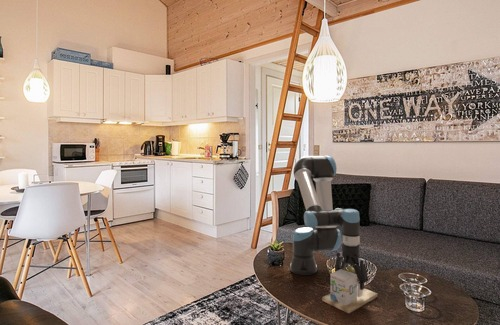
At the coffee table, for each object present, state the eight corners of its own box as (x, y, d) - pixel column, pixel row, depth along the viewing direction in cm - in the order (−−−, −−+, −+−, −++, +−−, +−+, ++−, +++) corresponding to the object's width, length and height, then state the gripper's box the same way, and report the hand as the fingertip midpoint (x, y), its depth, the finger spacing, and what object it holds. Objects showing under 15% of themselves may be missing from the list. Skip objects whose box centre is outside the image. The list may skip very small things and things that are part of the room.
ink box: (329, 298, 139) (329, 273, 138) (341, 292, 144) (341, 268, 144) (346, 306, 132) (346, 279, 132) (357, 299, 138) (357, 273, 137)
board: (322, 300, 140) (322, 297, 140) (351, 286, 154) (351, 283, 154) (348, 313, 129) (348, 309, 129) (377, 296, 143) (377, 293, 143)
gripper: (326, 239, 147) (326, 286, 148) (367, 251, 130) (367, 304, 131) (336, 236, 151) (336, 281, 153) (377, 247, 134) (377, 298, 136)
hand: (350, 291), depth 142 cm, fingers open, 9 cm apart
